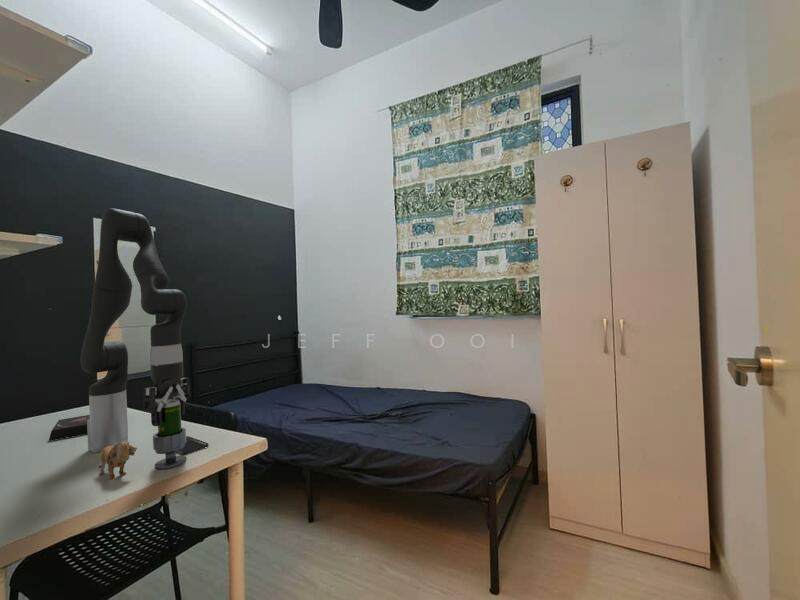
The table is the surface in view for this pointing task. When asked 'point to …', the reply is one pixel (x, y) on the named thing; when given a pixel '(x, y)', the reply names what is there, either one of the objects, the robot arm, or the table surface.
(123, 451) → the lion figurine
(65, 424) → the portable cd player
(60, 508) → the table surface
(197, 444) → the phone
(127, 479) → the table surface
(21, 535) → the table surface
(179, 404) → the green drink can
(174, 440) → the cup bracket
